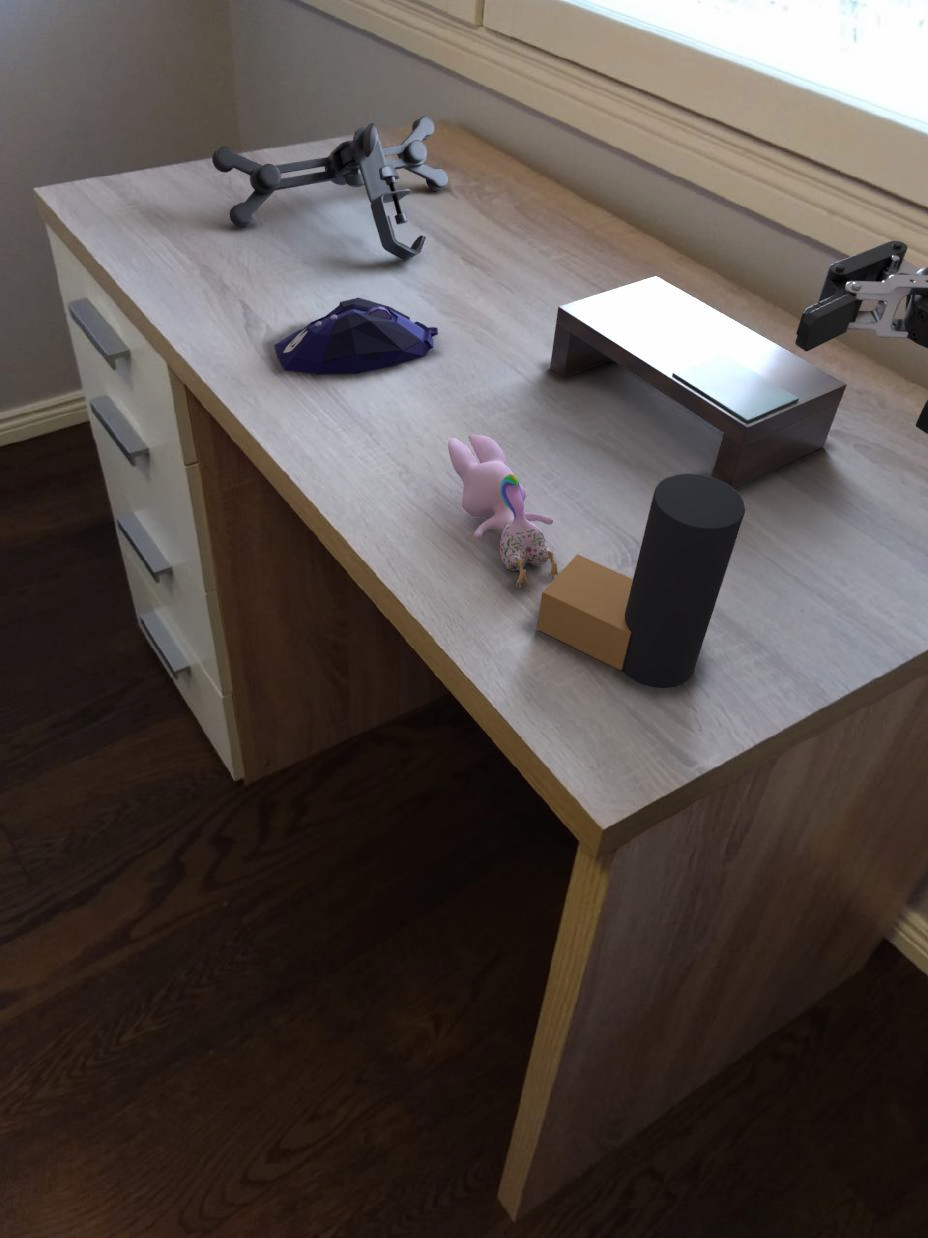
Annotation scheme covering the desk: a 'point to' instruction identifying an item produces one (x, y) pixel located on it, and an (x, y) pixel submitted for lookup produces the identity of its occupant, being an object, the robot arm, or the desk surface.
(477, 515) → the rabbit figure
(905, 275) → the robot arm
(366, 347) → the computer mouse
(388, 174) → the tablet mount
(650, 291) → the low wooden bench
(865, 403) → the desk surface
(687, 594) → the cylinder with tan block
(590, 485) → the desk surface
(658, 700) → the desk surface
